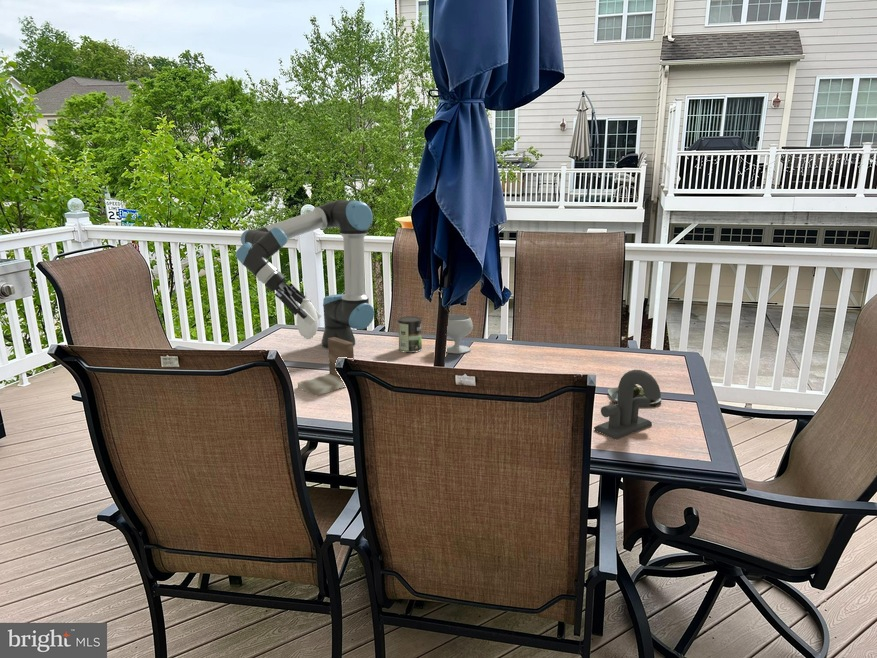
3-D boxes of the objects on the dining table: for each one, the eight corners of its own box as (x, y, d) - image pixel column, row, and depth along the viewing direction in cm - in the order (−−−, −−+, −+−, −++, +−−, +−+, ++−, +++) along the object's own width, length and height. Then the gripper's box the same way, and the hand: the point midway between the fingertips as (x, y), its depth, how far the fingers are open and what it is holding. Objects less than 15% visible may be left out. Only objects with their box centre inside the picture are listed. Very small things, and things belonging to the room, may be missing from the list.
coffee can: (423, 347, 277) (423, 316, 273) (419, 353, 267) (419, 322, 263) (401, 346, 278) (400, 315, 275) (396, 352, 268) (395, 321, 265)
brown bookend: (336, 376, 238) (334, 336, 234) (354, 384, 230) (353, 343, 226) (297, 387, 227) (294, 345, 223) (315, 395, 219) (313, 352, 214)
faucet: (635, 449, 176) (641, 383, 171) (592, 431, 188) (596, 368, 183) (673, 433, 186) (679, 370, 181) (630, 416, 199) (634, 357, 194)
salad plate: (598, 388, 225) (599, 376, 224) (647, 388, 225) (648, 376, 224) (612, 408, 206) (613, 395, 205) (665, 408, 206) (667, 395, 205)
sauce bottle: (321, 339, 233) (319, 292, 229) (301, 342, 229) (298, 294, 225) (315, 334, 240) (312, 289, 235) (295, 337, 236) (292, 291, 231)
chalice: (456, 344, 281) (456, 311, 277) (479, 350, 271) (479, 317, 267) (434, 350, 271) (434, 317, 267) (457, 357, 262) (457, 322, 258)
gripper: (275, 279, 241) (317, 320, 243) (254, 290, 221) (301, 334, 224) (287, 266, 239) (330, 307, 241) (267, 275, 219) (314, 320, 222)
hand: (316, 320), depth 232 cm, fingers closed on sauce bottle, 7 cm apart
